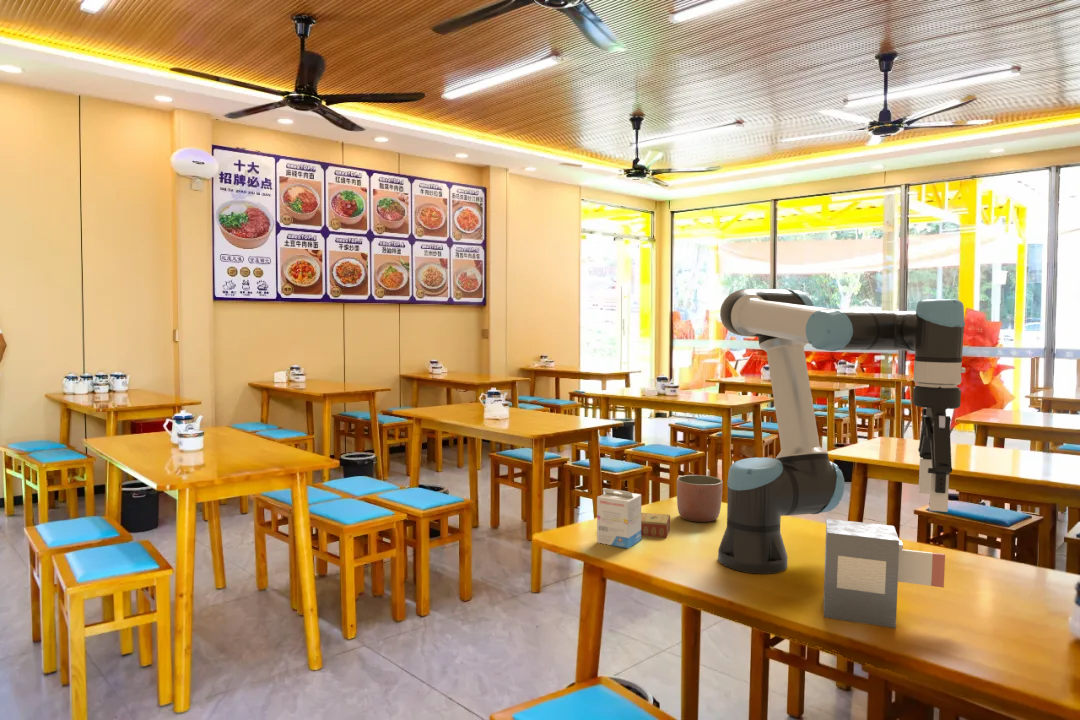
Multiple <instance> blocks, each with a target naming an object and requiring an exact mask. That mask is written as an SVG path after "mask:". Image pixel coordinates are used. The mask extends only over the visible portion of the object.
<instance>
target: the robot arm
mask: <svg viewBox="0 0 1080 720" xmlns="http://www.w3.org/2000/svg"><path fill="white" fill-rule="evenodd" d="M964 306H965V305H964V303H963V302H962V301H961V300H958V299H921V300H919V301H918V302H917V304H916V309H915V310H914V311H913V310H911V311H910V310H909V311H908V310H899V311H898V310H850V309H849V310H848V309H846V310H845V309H837V308H827V307H820V306H815V304H814V302H813V300H812V299H811V297H809V296H808V294H806V293H804V292H803V291H801V290H796V289H795V290H794V289H789V288H781V289H776V288H773V289H772V288H769V289H768V288H742V289H739V290H736V291H733V292H732V293H730V294H728V296H727V297H725V299H724V300H723V302H722V303H721V306H720V311H719V315H720V320H721V323H722V325H723V326H724V328H725V329H726V330H727V331H728V332H730V333H732V334H734V335H737V336H741V337H754V338H758V339H757V340H758V346H759V348H760V349H761V350H763V351H765V352H766V354H767V355H766V357H767V363H768V370H769V376H770V377H769V378H770V382H771V389H772V396H773V402H774V403H773V405H774V410H775V416H776V422H777V430H778V435H779V443H780V452H779V453H778V454H777V456H775V458H774V457H765V456H763V457H756V456H755V457H749V458H743V459H742V458H741V459H740V460H739V459H738V460H736V461H734V462H733V463H732V464H731V465H730V467H729V469H728V476H727V482H726V483H727V503H726V505H727V507H726V509H727V510H726V514H727V515H726V528H725V531H724V534H723V536H722V538H721V541H720V545H719V546H718V551H717V552H718V553H717V555H718V556H717V560H718V562H719V563H720V564H721V565H723V566H725V567H727V568H729V569H732V570H735V571H740V572H744V573H751V574H765V575H767V574H775V573H779V572H783V571H785V570H786V569H787V568H788V559H789V558H788V554H787V551H786V547H785V544H784V540H783V537H782V533H781V520H782V519H781V518H782V517H783V516H785V517H786V516H798V515H801V516H802V515H818V514H822V513H828V512H831V511H833V510H834V509H836V508H837V507H838V506H839V504H840V502H841V501H842V499H843V497H844V493H845V477H844V475H843V472H842V470H841V469H840V468H839V467H840V466H838V464H836V463H834V462H832V461H830V459H829V452H828V451H826V450H825V448H823V447H821V445H820V440H819V438H820V437H819V435H818V427H817V420H816V416H815V410H814V404H813V396H812V390H811V383H810V379H809V373H808V372H809V371H808V364H807V359H806V352H805V346H806V345H807V344H809V345H811V346H812V347H813V349H816V350H822V351H830V352H835V351H906V352H907V351H911V352H914V360H913V382H914V383H916V385H914V387H912V388H913V392H912V404H913V405H914V406H915V407H919V408H923V409H921V410H922V411H921V412H922V416H921V429H920V434H919V435H920V436H919V443H918V444H919V446H918V448H917V450H918V453H919V457H920V458H919V469H918V470H919V471H918V473H919V474H918V475H919V476H918V494H926V495H929V504H928V507H929V508H928V509H929V511H933V512H943V513H948V511H949V510H948V508H949V487H950V483H949V482H950V474H952V472H953V468H952V448H951V447H952V445H951V421H952V419H951V416H949V415H947V410H948V409H949V410H954V409H959V408H960V407H961V401H962V400H961V398H962V389H961V388H960V387H959V385H961V383H962V374H963V373H966V370H967V369H966V368H965V367H962V366H963V365H962V364H963V350H964V349H963V347H964V333H965V326H966V323H965V307H964Z"/></svg>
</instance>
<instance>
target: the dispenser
mask: <svg viewBox="0 0 1080 720" xmlns="http://www.w3.org/2000/svg"><path fill="white" fill-rule="evenodd" d="M824 547H825V552H824V575H823V577H824V579H823V618H827V619H831V620H832V619H833V620H840V621H847V622H854V623H859V624H867V625H873V626H878V627H879V626H880V627H887V628H893V629H896V628H897V609H898V608H897V604H898V583H899V582H898V563H899V549H904V544H903V541H902V539H901V540H900V538H899V535H898V534H897V531H896V527H895V526H894V525H890V524H888V525H887V524H880V523H879V524H878V523H868V522H861V521H851V520H841V519H832V518H831V519H830V518H826V523H825V546H824Z"/></svg>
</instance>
